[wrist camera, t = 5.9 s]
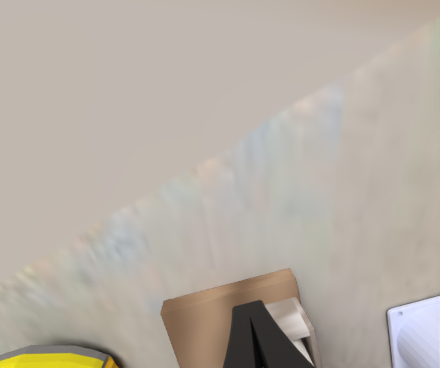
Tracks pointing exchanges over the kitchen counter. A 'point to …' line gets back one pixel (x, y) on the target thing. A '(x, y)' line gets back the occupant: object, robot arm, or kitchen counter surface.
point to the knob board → (222, 316)
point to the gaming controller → (56, 357)
